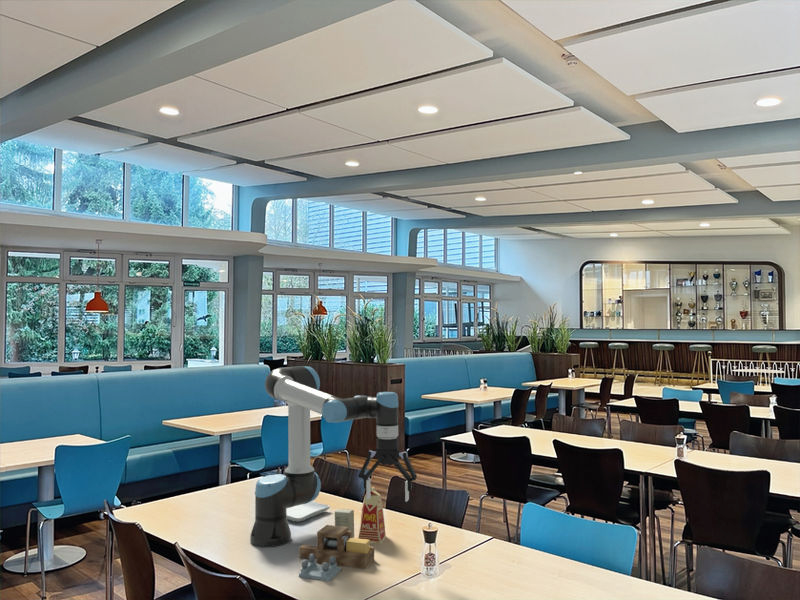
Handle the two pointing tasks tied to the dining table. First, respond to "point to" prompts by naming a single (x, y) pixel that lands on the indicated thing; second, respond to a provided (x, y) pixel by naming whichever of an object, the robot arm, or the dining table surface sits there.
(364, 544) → the yellow block
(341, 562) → the wooden fixture
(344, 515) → the skincare box
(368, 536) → the milk carton
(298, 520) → the salad plate
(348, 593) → the dining table surface
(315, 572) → the cradle
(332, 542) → the silver metal cylinder
